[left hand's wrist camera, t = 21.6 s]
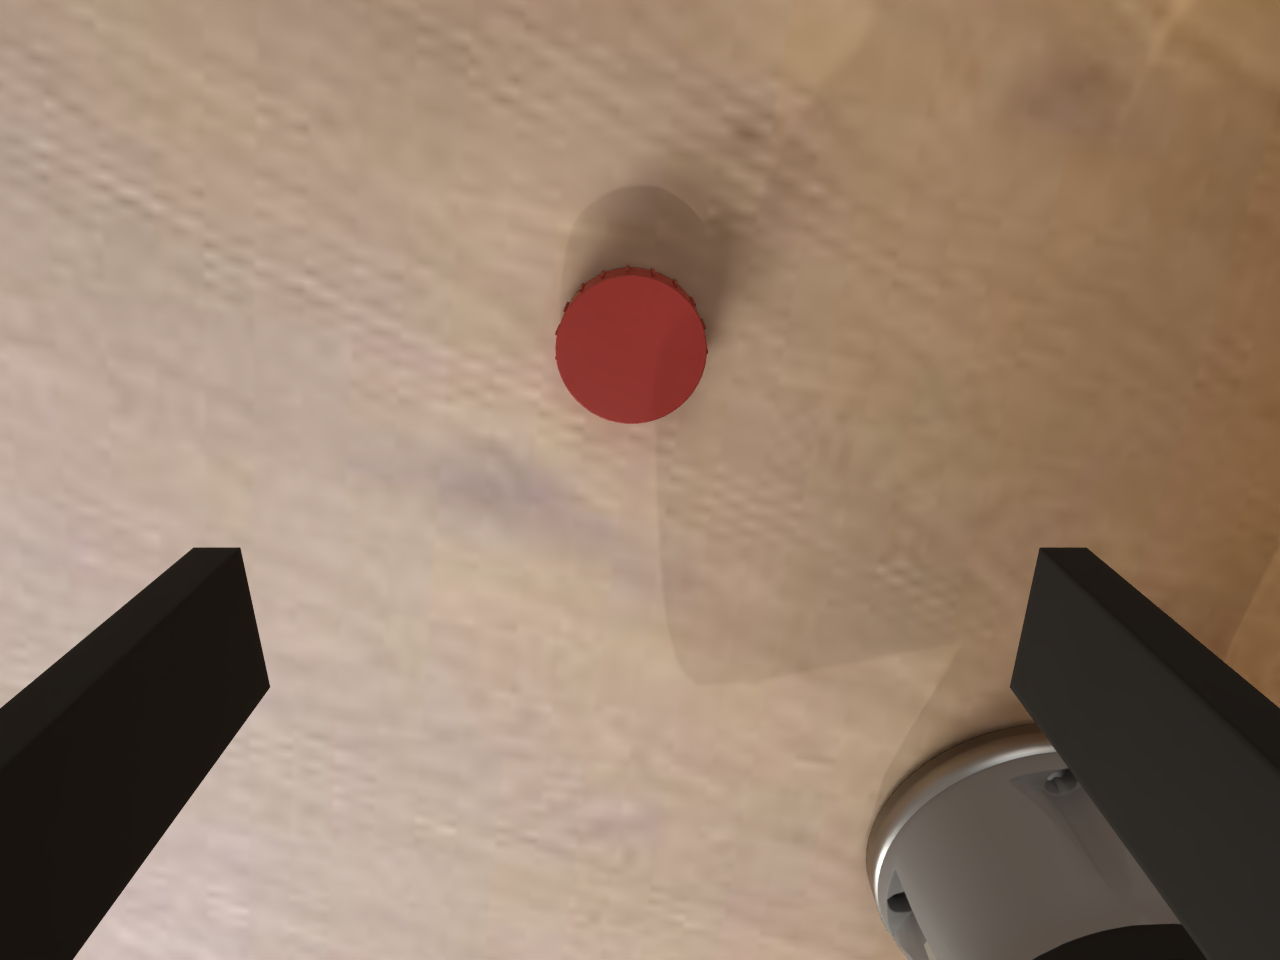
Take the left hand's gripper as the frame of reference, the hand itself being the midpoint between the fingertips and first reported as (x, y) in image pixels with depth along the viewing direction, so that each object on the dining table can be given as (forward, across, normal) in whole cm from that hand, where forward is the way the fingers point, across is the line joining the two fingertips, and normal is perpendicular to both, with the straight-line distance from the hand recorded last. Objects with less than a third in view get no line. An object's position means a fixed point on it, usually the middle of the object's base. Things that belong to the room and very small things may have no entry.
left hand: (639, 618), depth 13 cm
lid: (+15, 0, -1) cm, 15 cm away
